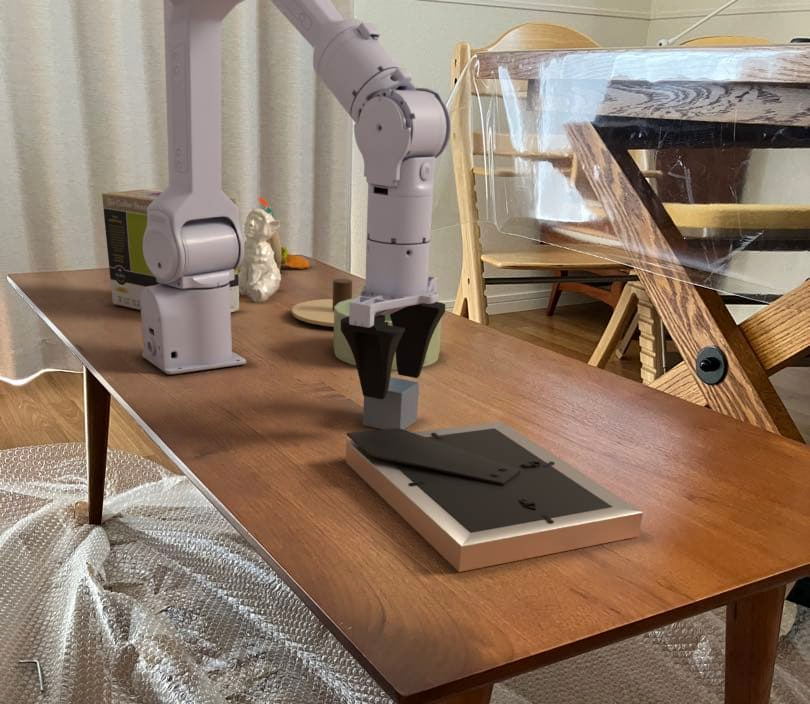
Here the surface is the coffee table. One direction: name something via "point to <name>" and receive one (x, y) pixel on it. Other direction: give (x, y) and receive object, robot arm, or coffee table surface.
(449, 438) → the picture frame
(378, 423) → the block
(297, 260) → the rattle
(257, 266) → the seated beast figurine
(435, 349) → the green faceted round bowl
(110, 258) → the tea box
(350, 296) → the lid
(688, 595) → the coffee table surface
